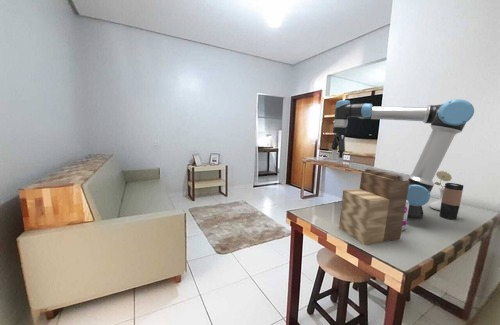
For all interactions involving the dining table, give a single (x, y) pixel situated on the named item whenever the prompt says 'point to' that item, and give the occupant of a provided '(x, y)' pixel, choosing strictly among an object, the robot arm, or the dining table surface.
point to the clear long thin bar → (362, 167)
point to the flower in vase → (443, 177)
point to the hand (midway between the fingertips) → (336, 161)
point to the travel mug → (451, 201)
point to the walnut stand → (374, 208)
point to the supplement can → (405, 215)
